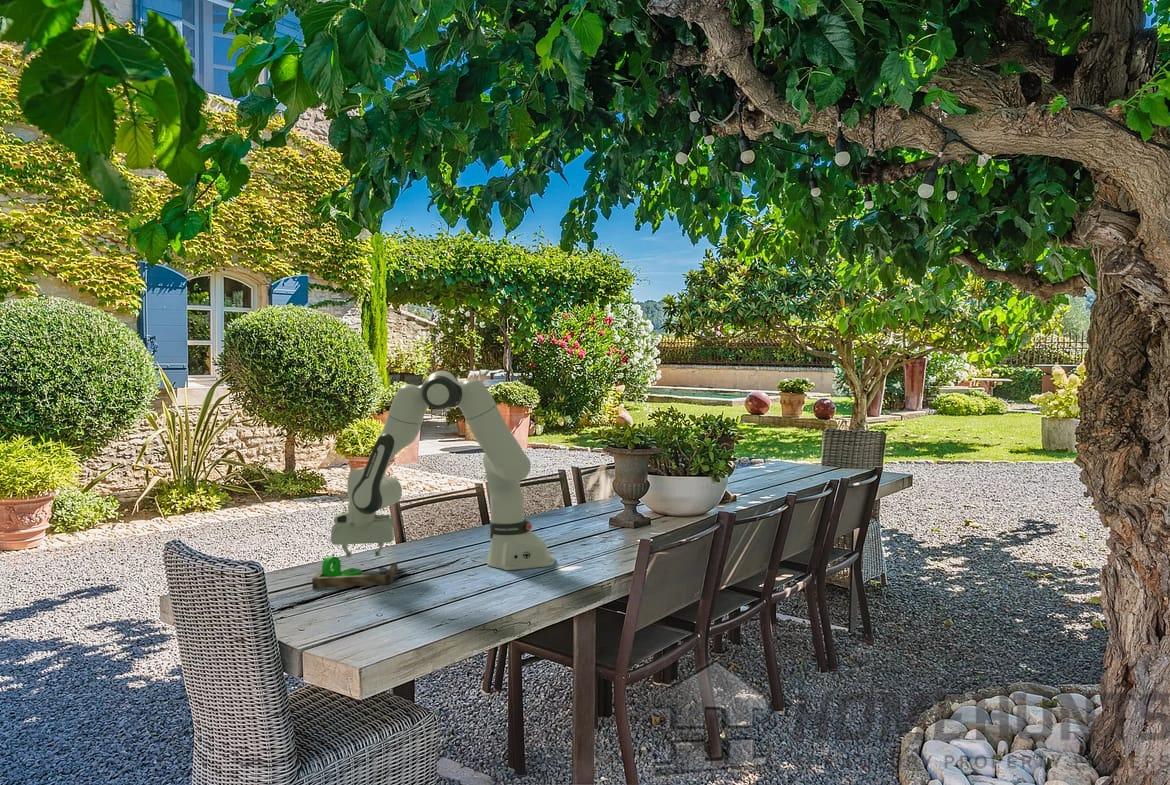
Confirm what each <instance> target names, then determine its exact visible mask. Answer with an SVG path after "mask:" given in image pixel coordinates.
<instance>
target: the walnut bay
mask: <svg viewBox="0 0 1170 785" xmlns="http://www.w3.org/2000/svg"><path fill="white" fill-rule="evenodd" d="M397 572H399V570H398V563H397V562H396V563H395V562H394V563H391V565H390V567H389V568H388V570H387V571H386V573H383V574H381V573H379V574H364V575H363V574H362V575H356V576H333V577H323V575H322V568H321V569H320V570H319V571H317V573H316V574H315V575H314V576H313V577H312V580H311V582H312V589H313V588H315V589H328V588H327V587H337V588H343V587H342V586H360V587H367V586H366V585H382V586H391V585H392V583H393V581H394V580H395V578H396V576H397V574H398V573H397ZM396 573H397V574H396ZM395 575H396V576H395ZM394 577H395V578H394ZM393 579H394V580H393ZM390 584H391V585H390Z"/></svg>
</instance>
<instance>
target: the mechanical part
mask: <svg viewBox="0 0 1170 785" xmlns="http://www.w3.org/2000/svg"><path fill="white" fill-rule="evenodd" d="M341 564H342V563H341V560H340V558H339V557H337V556H333V555H332V556H331V555H329V556H326V557H325V558H324V560H323V561H322V566H321V569H322V575H323V577H333V576H356V575H363V574H362V572H363V571H362V569H361V568H357V567H356V568H355V567H349V568H347V569H344V570H342V568H341V567H342V566H341ZM331 565H332V567H331Z"/></svg>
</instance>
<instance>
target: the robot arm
mask: <svg viewBox="0 0 1170 785" xmlns="http://www.w3.org/2000/svg"><path fill="white" fill-rule="evenodd" d="M455 407H458V408H459V410H460V411H461V413H462V415H463V417H464V419H465V421H466V423H467V425H468V426H469V429H470V431H471V433H472V435H473V437H474V439H475V441H476V442H477V443H478V445H479V446H480V447H481V449H482V451H483V452H484V454H483V457H482V458H483V459H482V460H483V461H482V462H483V467H484V469H485V476H486V483H487V487H488V491H489V492H488V493H489V500H490V501H489V502H490V521H489V524H488V526H489V538H490V545H489V554H488V556H487V558H488V559H487V561H486V564H487V566H490V567H491V568H492V567H493V568H498V569H501V570H503V571H504V570H505V571H512V570H513V571H515V570H527V569H535V568H544V567H551V566H553V565H554V564H555V562H556V560H555V556H554V555H553V554H551V553H549V549H548V546H547V543H546V542H545V540H544V539H543V538H541V537H540V536H538V535H537V534H535V533H534V532H533V531H531V530H532V528H533V525H532V523H531V522H530V521H529V520H527V519H525V497H524V494H523V491H522V488H521V483H520V481H522V480H524V479H526V478H527V477H528V475H529V474H530V472H531V469H532V468H531V466H532V465H531V461H530V459H529V457H528V455H526V453H525V451H524V450H523V448H522V447H521V445H520V444H519V442H518V441H517V439H516V437H515V436H514V434H513V433H512V431H511V430H510V428H509V427H508V425H507V424H506V422H505V419H504V418H503V416H502V414H501V411H500V409H499V408H498V406H497V403H496V401H495V400H494V398H493V396H492V394H491V393H490V391H489V390H488V388H487V386H485V384H484V383H483V382H482V381H481V380H479V379H477V378H471V379H466V380H465V381H464V380H463V381H459V380H458V378H457V376H456V375H455V373H453V372H452V371H451V370H448V369H444V368H442V369H437V370H434V371H432V372H431V373H430V374H429V375H428V376H426V377H425V378H424V379H423V380H422V381H421V382H420V384H419V385H415V384H410V383H409V384H404V385H401V386H400V387H399V388H398V389H397V391H396V393H395V395H394V397H393V399H392V401H391V405H390V407H389V411H388V414H387V417H386V420H385V423H384V425H383V428H382V431H381V432H380V434H379V436H378V437H377V440H376V442H375V443H374V446H373V447H372V448H373V449H372V450H371V453H370V455H369V458H368V460H367V464H366V466H362V467H361V466H360V467H357V468H353V469H351V470H350V471H349V473H348V477H347V486H346V487H347V490H346V491H347V497H348V501H349V502H348V505H347V510H345V511H342V512H339V513H338V514H336V515H335V516H334V517H333V523H334V524H332V527H331V531H330V542H331V544H332V545H334V546H335V545H336V546H338V545H339V546H340V545H342V546H341V547H342V550H343V551H344V552H345V558H346V559H347V558H351V557H352V550H349V548H348V547H349V545H360V544H363V545H365V544H367V545H368V544H377V547H378V549H376V550H374V553H375V555H374V557H380V556H381V550H382V548H383V546H384V545H385V543H387V544H388V543H389V544H390V543H392V542H393V541H394V539H395V531H394V530H395V529H394V527H395V518H394V517H393V516H392V515H390V514H389V513H388V514H377V513H376V512H378V511H379V510H382V509H385V508H388V507H390V506H393V505H395V504H397V503H398V502H399V501H400V500H401V498H402V496H403V495H402V494H403V489H402V486H401V484H400V482H399V480H397V478H395V477H391V476H387V475H386V472H387V469H388V467H389V464H390V462H391V461H392V459H393V458H394V457H395V455H397V454H398V453H399V452H400V451H402V450H403V449H405V448H406V447H408V446H410V445H411V444H413V443H414V442H415V440H416V439H417V437H418V435H419V434H420V430H421V428H422V423H423V420H424V417H425V415H426V414H425V413H426V411H427V410H428V409H429V408H432V409H437V410H439V409H440V410H441V409H442V410H443V409H448V408H455Z"/></svg>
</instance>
